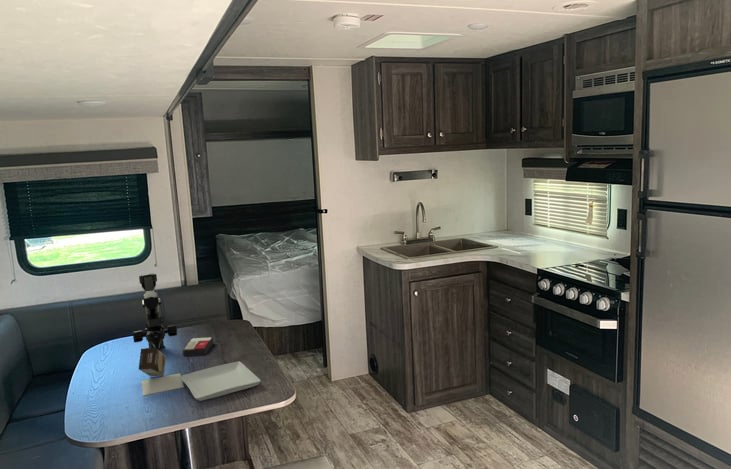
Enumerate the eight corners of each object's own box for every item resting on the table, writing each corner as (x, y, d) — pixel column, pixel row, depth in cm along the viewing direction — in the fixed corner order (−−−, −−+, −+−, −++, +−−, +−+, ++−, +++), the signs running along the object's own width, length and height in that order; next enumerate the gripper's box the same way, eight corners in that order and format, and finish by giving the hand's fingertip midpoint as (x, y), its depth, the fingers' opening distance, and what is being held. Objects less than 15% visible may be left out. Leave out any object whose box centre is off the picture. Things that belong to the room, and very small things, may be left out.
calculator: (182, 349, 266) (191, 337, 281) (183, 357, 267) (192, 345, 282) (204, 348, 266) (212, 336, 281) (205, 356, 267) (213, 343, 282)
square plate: (196, 407, 212) (195, 397, 211) (179, 383, 235) (178, 375, 234) (262, 388, 226) (261, 379, 225) (240, 367, 249) (239, 359, 248)
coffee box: (164, 375, 243) (153, 369, 229) (150, 376, 243) (138, 370, 228) (166, 355, 247) (155, 347, 232) (151, 355, 246) (140, 348, 232)
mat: (141, 381, 238) (141, 380, 238) (180, 373, 244) (179, 373, 244) (143, 395, 224) (143, 395, 224) (183, 387, 230) (183, 386, 230)
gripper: (130, 314, 243) (133, 345, 235) (174, 307, 251) (179, 337, 242) (132, 326, 252) (135, 357, 243) (174, 320, 259) (179, 349, 251)
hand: (157, 350), depth 245 cm, fingers closed
